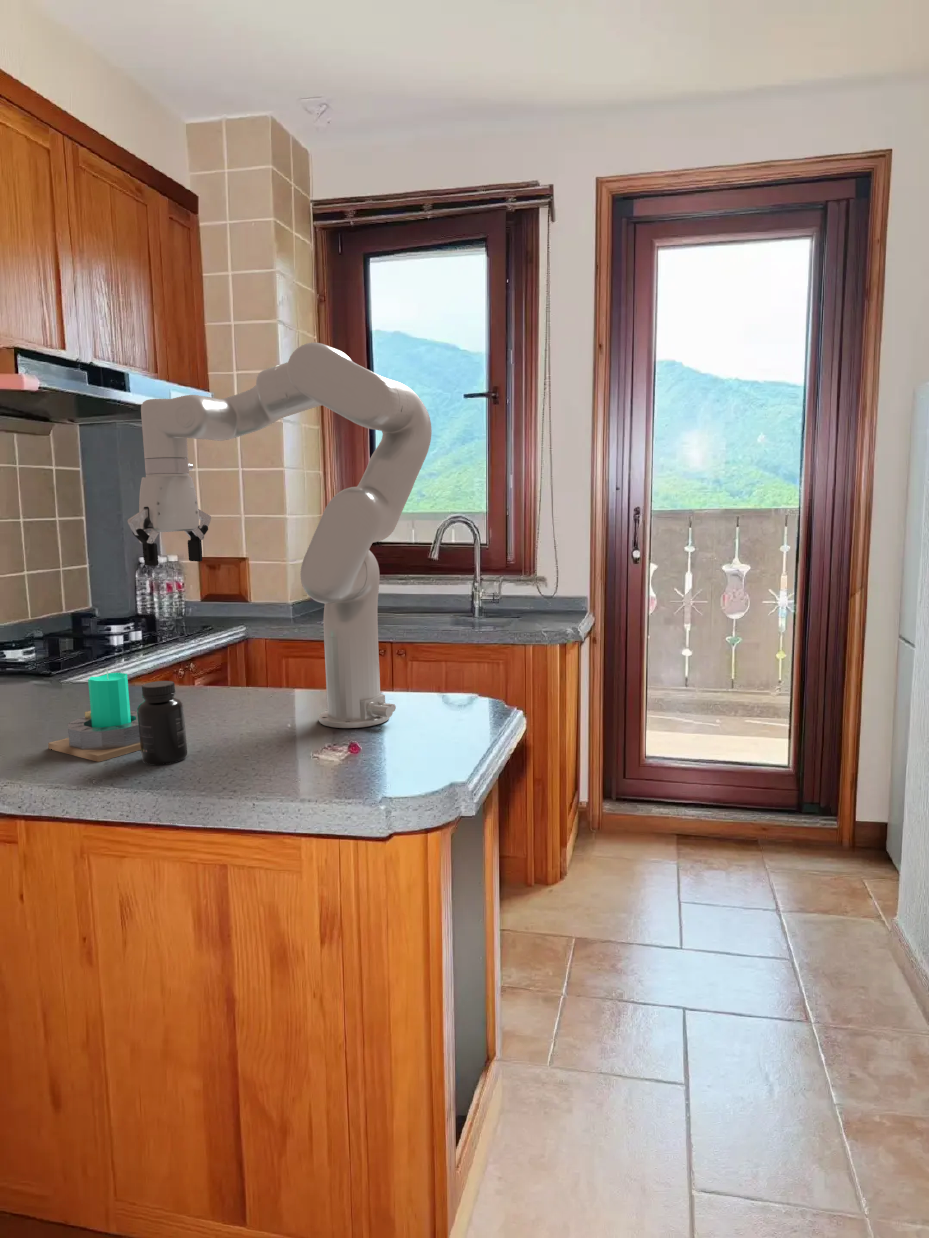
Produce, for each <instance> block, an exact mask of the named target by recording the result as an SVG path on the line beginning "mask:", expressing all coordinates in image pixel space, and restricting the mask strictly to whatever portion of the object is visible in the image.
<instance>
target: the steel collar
mask: <svg viewBox="0 0 929 1238" xmlns="http://www.w3.org/2000/svg"><path fill="white" fill-rule="evenodd" d="M130 715H131V723H127V724H123V725H119V726H111V727H92V720H91V710H88V711H84V716H83V717H78V718H77V719H74V720H72V721H70V722H68V723H67V731H68V734H67V735H68V738H69V745H70V747H73V748H77V749H81V750H105V749H112V748H120V747H126V746H130V745H133V744H137V743H140V736H139V726H138V716H137V710H136V711H135V710H130Z"/></svg>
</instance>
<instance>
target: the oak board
mask: <svg viewBox="0 0 929 1238" xmlns="http://www.w3.org/2000/svg"><path fill="white" fill-rule="evenodd" d="M47 745H48V749H49V750H51V749H52V751H56V752H59V753H63V754H66V755H71V756H75V757H78V758H82V759H86V760H89V761H93V762H96V763H100V762H103V761H107V760H110V759H114V758H117V757H120V756H124V755H128V754H131V753H134V752H137V751H141V746H140V743H137V744H133V745H130V746H126V747H120V748H112V749H105V750H81V749H77V748H73V747H70V745H69V737H66V738H63V739H59V740H58V739H57V740H54V741H50V742H48V744H47Z"/></svg>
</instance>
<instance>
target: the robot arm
mask: <svg viewBox="0 0 929 1238" xmlns="http://www.w3.org/2000/svg"><path fill="white" fill-rule="evenodd" d="M321 406H323V407H325V408H326V409H328V410H331V411H332V412H333V413H336V414H337V415H339V416H341V417H343V418H344V419H346V420H349V421H350V422H352V423H353V424H356V425H358V426H360V427H363V428H365V429H369V430H375V431H381V432H382V436H381V440H380V442H379V444H378V445H377V446H376V448H375V450H374V451H373V453H372V454H371V457H370V458H369V461H368V463H367V466H366V468H365V471H364V472H363V475H362V477H361V479H360V481H359V483H358V484H357V486H351V487H347V488H344V489H342V490H340V491H338V493H336V494H335V495H334V496H333V497H332V498H331V499H330V501H329V502H328V504H327V505H326V506H325V508H324V510H323V513H322V515H321V518H319V522H318V523H317V524H318V525H317V526H316V529H315V531H314V533H313V536H312V538H311V541H310V543H309V545H308V547H307V550H306V552H305V555H304V556H303V560H302V561H301V562H302V563H301V567H300V572H299V573H300V583H301V585H302V588H303V590H304V592H305V593H306V594H307V596H308V597H310V598H311V599H312V600H313V601H315V602H317V603H320V604H324V609H323V620H322V621H323V625H322V626H323V644H324V662H325V663H324V664H325V665H324V666H325V684H326V685H325V687H326V688H325V689H326V705H327V709H326V710H324V711H322V712H320V713H319V714H318V722H319V723H320V724H322V726H325V727H330V728H337V729H338V728H339V729H357V728H358V729H359V728H368V727H373V726H376V725H380V724H383V723H385V722H387V721H388V720H389V719H390V718H391V717H392V716H393V714H394V713H393V712H395V711H396V707H397V706H396V705H395V704H394V703H390V702H389V703H388V702H387V703H386V695H385V694H382V693H381V680H380V677H381V675H380V657H379V656H380V655H379V654H380V653H379V652H380V651H379V626H378V625H379V623H378V621H379V619H378V616H379V615H378V609H379V608H378V604H379V603H378V601H379V589H380V579H381V578H380V577H381V576H380V567H379V562H378V560H377V558H376V556H375V555H374V553H373V552H372V551H371V550H370V549H371V546H372V544H373V543H377V542H381V541H383V540H386V539H387V538H388V537H390V536H391V535H392V534H393V532H394V531H395V529H396V527H397V525H398V523H399V519H400V517H401V515H402V513H403V510H404V508H405V506H406V504H407V502H408V500H409V498H410V495H411V493H412V490H413V488H414V485H415V483H416V480H417V478H418V476H419V473H420V472H421V469H422V467H423V464H424V462H425V460H426V457H427V455H428V452H429V449H430V447H431V441H432V431H433V429H432V422H431V418H430V414H429V412H428V410H427V407H426V406H425V404H424V403H423V401H422V400H421V397H419V395H418V394H417V393H416V392H415V391H414V390H413V389H412V388H411V387H409V386H407V385H405V384H404V383H402V382H399V381H397V380H395V379H390V378H387V377H385V376H381V375H379V374H377V373H375V372H374V371H372V370H370V369H368V368H365V367H364V366H362V365H359V364H358V363H356V362H354V361H353V360H352V359H351V357H349V356H348V355H347V354H346V353H345V352H343V351H342V350H340V349H338V348H335V347H332V346H330V345H327V344H324V343H321V342H308V343H304V344H302V345H300V346H299V347H298V348H296V349H295V350H294V351H292V353H291V355H290V356H289V359H288V361H287V362H284V363H282V364H279V365H275V366H272V367H269V368H266V369H263V370H261V371H260V372H259V373H258V375H257V376H256V382H255V386H253V387H252V388H250V389H247V390H245V391H243V392H241V393H237V394H235V395H232V396H227V397H225V398H216V397H209V396H203V395H197V394H188V395H186V394H185V395H181V396H178V397H173V398H151V399H150V398H149V399H146V400H144V401H143V402H142V403H141V405H140V413H141V430H142V441H143V442H142V445H143V453H144V456H143V457H144V468H145V477H144V476H143V477H141V482H140V487H139V488H140V489H139V499H138V500H139V501H138V502H139V504H138V507H139V508H138V509H139V510H138V511H139V512H137V513H135V514H134V515H133V516H131V517H130V518H128V519H127V524H128V526H129V528H130V530H131V531H132V534H133V536H134V537H135V538H136V539H137V540H138V542H139V544H142V546H141V547H142V555H143V556H142V557H143V561H144V565H145V567H146V566H147V567H155V566H156V567H157V566H158V565H159V553H158V544H157V543H156V542H155V540H156V539H157V538H158V535H159V534H160V533H169V532H170V533H172V532H184V533H185V534H186V535H187V536H188V538H189V539H188V540H187V552H188V554H187V555H188V561H190V562H203V546H202V545H203V544H202V541H204V539H205V535H206V534H207V532H208V531H209V527H210V523H211V520H212V516H211V515H210V514H208V513H206V512H204V511H203V510H201V509H199V505H198V497H197V493H196V488H195V487H196V486H195V483H194V480H193V477H192V476H190V471H192V470H193V468H194V465H193V464H192V462H189V449H188V439H195V440H210V441H220V442H221V441H229V440H232V439H236V438H239V437H242V436H245V435H249V434H253V433H256V432H257V431H260V430H262V429H264V428H267V427H269V426H270V425H272V424H275V423H276V422H278V421H279V420H281V419H283V418H287V417H289V416H292V415H295V414H298V413H301V412H305V411H308V410H312V409H315V408H317V407H321ZM154 542H155V543H154Z"/></svg>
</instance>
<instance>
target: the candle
mask: <svg viewBox="0 0 929 1238" xmlns="http://www.w3.org/2000/svg"><path fill="white" fill-rule="evenodd" d="M87 682H88V683H87V684H88V695H89V696H88V697H89V705H90V706H89V707H90V711H91V720H92V727H111V726H119V725H123V724H127V723H131V715H130V711H131V705H130V704H131V703H130V694H129V693H130V692H129V681H128V673H124V672H111V673H110V672H108V666H107V667H106V674H102V675H99V676H90V677H89V679H88V680H87Z"/></svg>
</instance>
